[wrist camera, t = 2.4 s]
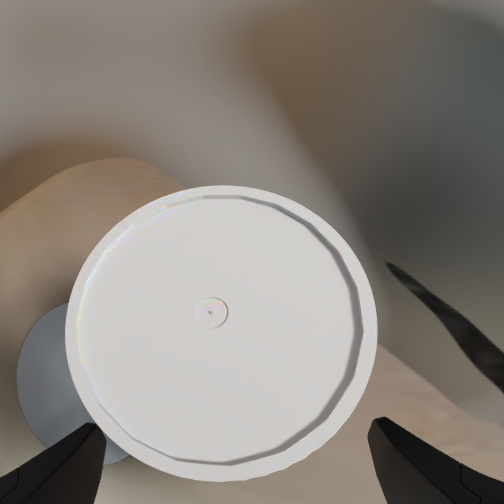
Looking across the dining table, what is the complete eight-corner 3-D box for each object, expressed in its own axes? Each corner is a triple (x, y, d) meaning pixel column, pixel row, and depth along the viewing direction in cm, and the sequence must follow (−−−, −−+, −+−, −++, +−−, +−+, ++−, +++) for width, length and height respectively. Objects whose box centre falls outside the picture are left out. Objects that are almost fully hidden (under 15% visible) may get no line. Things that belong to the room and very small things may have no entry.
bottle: (298, 347, 19) (385, 195, 6) (283, 443, 15) (378, 514, 3) (200, 330, 20) (122, 164, 7) (179, 424, 16) (17, 420, 3)
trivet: (55, 477, 12) (46, 478, 11) (14, 338, 18) (6, 333, 17) (191, 434, 16) (188, 436, 15) (124, 282, 22) (118, 275, 21)
